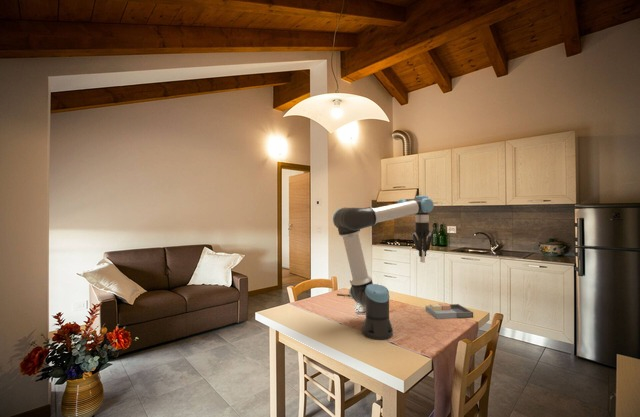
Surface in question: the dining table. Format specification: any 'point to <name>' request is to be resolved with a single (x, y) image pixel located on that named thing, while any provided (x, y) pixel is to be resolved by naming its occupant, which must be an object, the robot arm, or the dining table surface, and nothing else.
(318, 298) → the dining table surface
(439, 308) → the tile
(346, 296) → the wooden toy
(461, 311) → the box
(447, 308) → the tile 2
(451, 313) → the plate
